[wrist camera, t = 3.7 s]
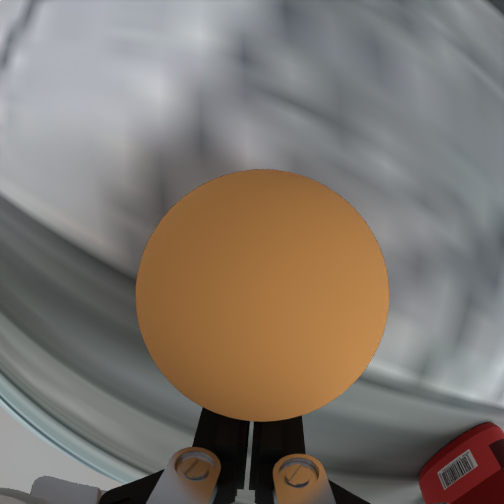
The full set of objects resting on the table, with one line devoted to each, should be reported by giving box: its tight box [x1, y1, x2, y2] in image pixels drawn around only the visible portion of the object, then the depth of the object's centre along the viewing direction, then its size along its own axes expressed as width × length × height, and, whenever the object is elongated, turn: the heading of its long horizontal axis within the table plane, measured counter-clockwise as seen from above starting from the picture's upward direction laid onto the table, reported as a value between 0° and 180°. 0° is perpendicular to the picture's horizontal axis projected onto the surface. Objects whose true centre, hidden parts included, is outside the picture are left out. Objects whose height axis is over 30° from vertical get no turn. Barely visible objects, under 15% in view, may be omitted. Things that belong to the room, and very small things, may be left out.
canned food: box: [419, 422, 504, 504], centre depth 8 cm, size 8×8×11 cm
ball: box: [136, 169, 389, 422], centre depth 7 cm, size 6×6×6 cm
